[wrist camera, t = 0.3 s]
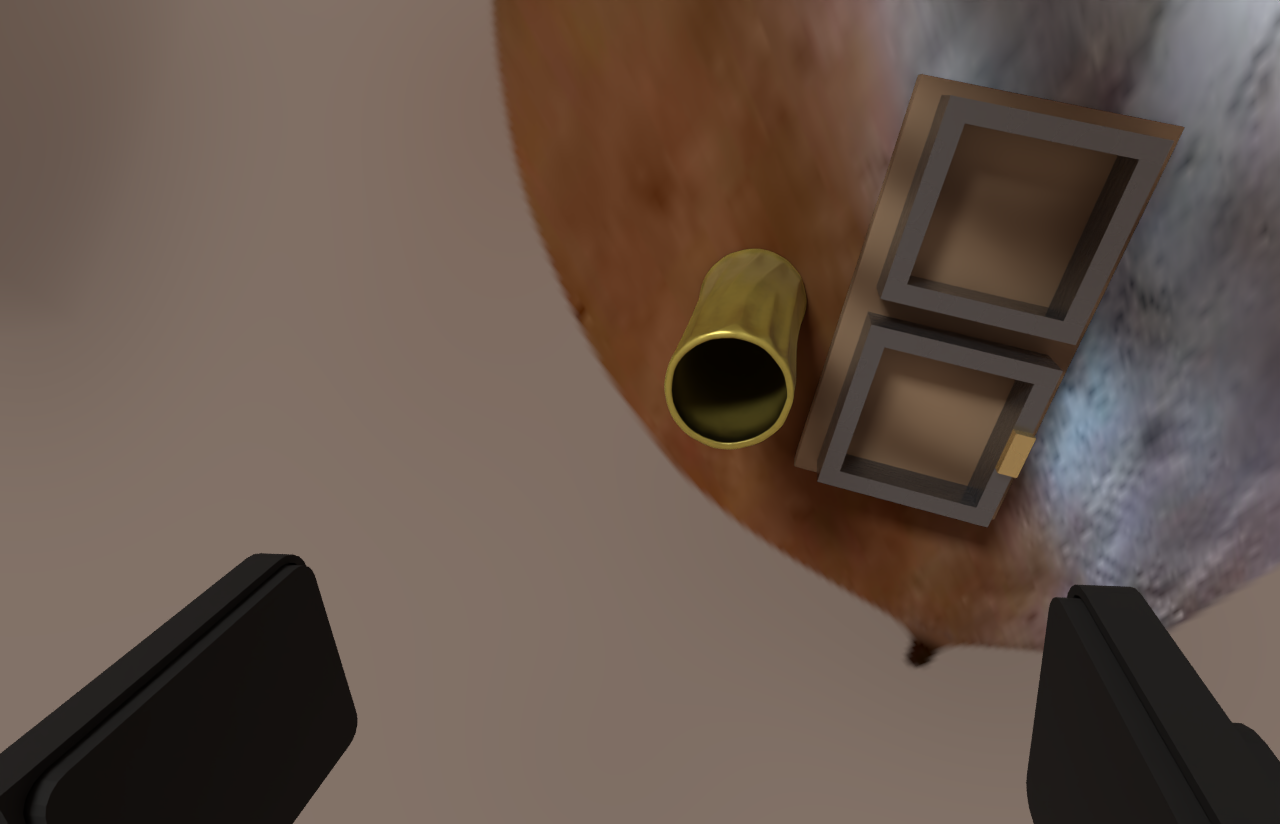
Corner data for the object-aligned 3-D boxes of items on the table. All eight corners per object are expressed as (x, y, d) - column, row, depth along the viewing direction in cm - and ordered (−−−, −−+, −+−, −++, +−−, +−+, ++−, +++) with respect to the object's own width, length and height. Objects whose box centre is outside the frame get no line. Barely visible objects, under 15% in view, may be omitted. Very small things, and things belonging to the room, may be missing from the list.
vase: (828, 311, 41) (836, 410, 28) (741, 370, 43) (713, 485, 31) (764, 225, 40) (743, 287, 27) (678, 291, 42) (622, 375, 29)
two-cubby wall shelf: (941, 95, 34) (953, 95, 32) (1150, 137, 33) (1180, 141, 31) (816, 461, 43) (817, 486, 41) (978, 504, 42) (989, 533, 40)
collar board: (918, 74, 35) (921, 74, 34) (1172, 126, 34) (1184, 127, 33) (794, 457, 45) (794, 466, 44) (989, 509, 44) (994, 519, 42)
